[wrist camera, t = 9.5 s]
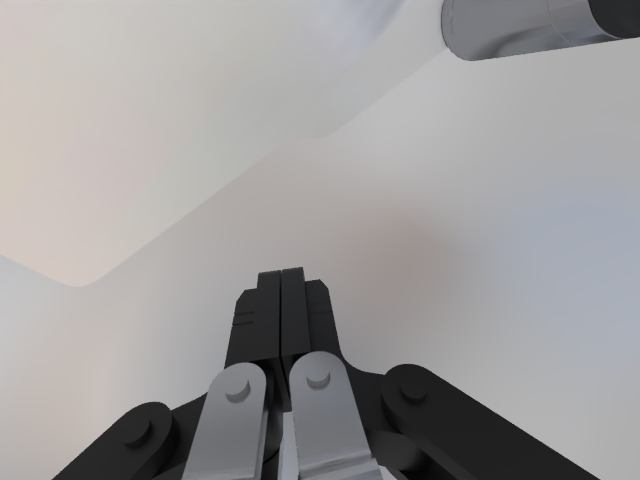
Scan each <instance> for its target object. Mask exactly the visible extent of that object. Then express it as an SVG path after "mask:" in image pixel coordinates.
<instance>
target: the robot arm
mask: <svg viewBox="0 0 640 480" xmlns="http://www.w3.org/2000/svg"><path fill="white" fill-rule="evenodd" d="M442 31H443V36H444V39H445V41H446V44H447V46H448V47H449V49H450V50H451V52H453V53H454V54H455V55H456V56H457V57H459V58H461V59H463V60H468V61H476V60H483V59H491V58H499V57H506V56H513V55H520V54H527V53H534V52H541V51H548V50H555V49H561V48H569V47H576V46H583V45H588V44H595V43H602V42H608V41H616V40H623V39H629V38H637V37H640V0H445V2H444V5H443V11H442ZM234 315H235V316H234V318H233V323H232V325H233V327H232V329H231V335H230V340H229V345H228V351H227V356H226V361H225V367H224V370H223V371H222V372H220V373H219V374H218V375H217V376H216V378H215V379H214V380H213V381H212V383H211V385H210V387H209V390H208V392H207V393H205V394H204V395H202V396H201V397H199V398H197V399H195V400H193V401H191V402H189V403H186V404H184V405H182V406H180V407H178V408H175V409H173V410H171V411H170V409H169V408H168V407H167V406H166V405H165V404H163V403H160V402H148V403H144V404H141V405H139V406H137V407H135V408H133V409H131V410H130V411H128V412H127V413H125V414H124V415H123V416H122V417H121V418H120V419H118V420H117V421H116V422H115V423H114V424H113V425H112V426H111V427H110V428H108V429H107V430H106V431H105V432H104V433H103V434H102V435H101V436H100V437H99V438H98V439H96V440H95V441H94V442H93V443H92V444H91V445H90V446H89V447H87V448H86V449H85V450H84V451H83V452H82V453H81V454H80V455H79V456H77V458H75V459H74V460H73V461H72V462H71V463H70V464H69V465H68V466H66V467H65V468H64V469H63V470H62V471H61V472H60V473H59V474H58V475H56V476H55V477H54V478H53V479H52V480H282V465H283V449H284V439H283V413H284V412H291V411H292V410H293V419H294V428H295V438H296V447H297V457H298V467H299V475H298V480H383V478H382V474H381V472H380V468H379V466H378V465H381V466H385V467H386V468H387V469H388V471H389V472H390V473H391V474H392V475H393V476H394V477H395V478H396V479H397V480H600V479H598V478H597V477H595V476H594V475H592V474H590V473H589V472H587V471H586V470H584V469H582V468H581V467H579V466H578V465H576V464H575V463H573V462H572V461H570V460H569V459H567V458H565V457H564V456H562V455H561V454H559V453H558V452H556V451H554V450H553V449H551V448H550V447H548V446H546V445H545V444H543V443H542V442H540V441H539V440H537V439H535V438H534V437H533V436H531V435H529V434H528V433H526V432H525V431H523V430H521V429H520V428H518V427H517V426H515V425H514V424H512V423H511V422H509V421H507V420H506V419H504V418H503V417H501V416H500V415H498V414H497V413H495V412H493V411H492V410H490V409H489V408H487V407H486V406H484V405H482V404H481V403H479V402H478V401H476V400H475V399H473V398H472V397H470V396H468V395H467V394H465V393H464V392H462V391H461V390H459V389H457V388H456V387H454V386H453V385H451V384H450V383H448V382H447V381H445V380H443V379H442V378H440V377H439V376H437V375H436V374H434V373H432V372H431V371H429V370H428V369H426V368H424V367H421V366H418V365H414V364H402V365H398V366H395V367H393V368H392V369H390V370H389V371H388V372H387V373H386V374H385V375H382V374H375V373H369V372H364V371H361V370H358V369H356V368H355V367H353V366H352V365H350V364H349V363H348V362H347V361H346V360H345V359H344V357H343V355H342V353H341V350H340V346H339V341H338V336H337V331H336V326H335V321H334V316H333V311H332V306H331V301H330V296H329V291H328V288H327V287H326V286H325V284H324V283H323V282H322V281H321V280H320V279H319V280H312V281H305V277H304V271H303V267H298V268H291V269H283V270H282V273H281V270H277V271H270V272H262V273H259V274H258V282H257V288H256V289H248V290H244V292H243V293H242V295H241V296H240V298H239V299H238V300H237V302H236V307H235V313H234Z"/></svg>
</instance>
